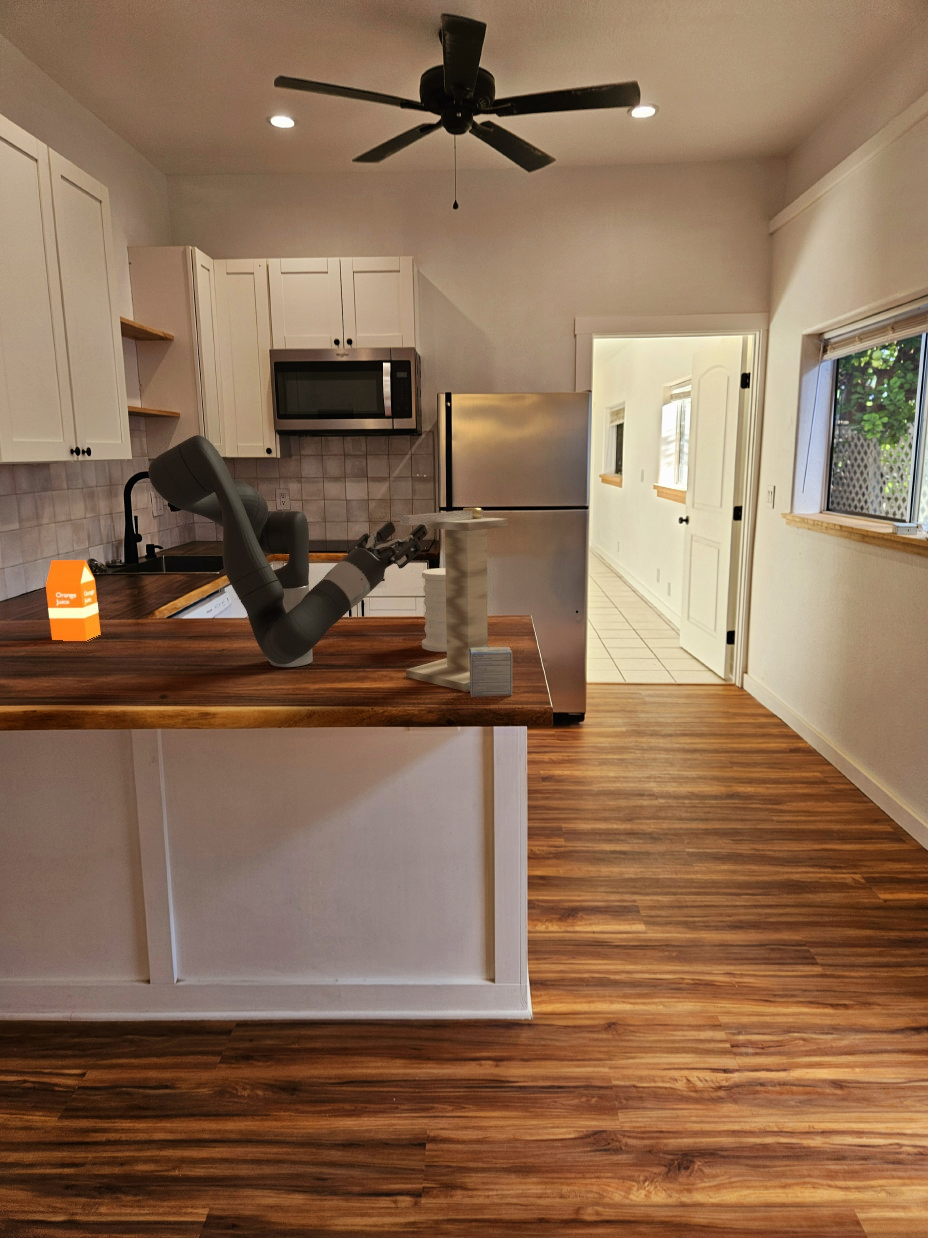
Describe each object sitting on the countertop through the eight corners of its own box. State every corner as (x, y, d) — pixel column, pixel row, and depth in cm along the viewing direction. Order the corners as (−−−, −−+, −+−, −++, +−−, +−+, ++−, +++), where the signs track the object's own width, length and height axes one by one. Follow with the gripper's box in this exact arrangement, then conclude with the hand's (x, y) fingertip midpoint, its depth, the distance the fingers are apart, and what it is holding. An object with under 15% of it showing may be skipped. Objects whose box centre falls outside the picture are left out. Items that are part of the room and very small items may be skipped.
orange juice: (86, 641, 200) (78, 561, 196) (51, 641, 200) (42, 562, 196) (101, 634, 207) (93, 557, 203) (67, 635, 208) (58, 558, 204)
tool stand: (406, 676, 165) (401, 520, 158) (455, 662, 176) (453, 515, 169) (464, 691, 154) (462, 524, 148) (512, 674, 165) (512, 518, 159)
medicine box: (510, 689, 155) (510, 646, 153) (512, 696, 151) (512, 651, 149) (469, 690, 155) (468, 647, 153) (470, 697, 150) (470, 652, 148)
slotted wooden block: (398, 524, 149) (397, 513, 149) (472, 517, 164) (472, 507, 164) (411, 525, 147) (411, 514, 146) (485, 517, 162) (485, 508, 162)
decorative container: (438, 638, 199) (437, 566, 195) (479, 643, 193) (478, 569, 189) (412, 648, 189) (410, 572, 185) (454, 654, 183) (453, 576, 179)
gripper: (370, 565, 133) (428, 511, 142) (317, 559, 143) (374, 508, 151) (388, 600, 137) (443, 545, 146) (335, 592, 147) (390, 540, 155)
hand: (408, 526), depth 149 cm, fingers open, 8 cm apart
